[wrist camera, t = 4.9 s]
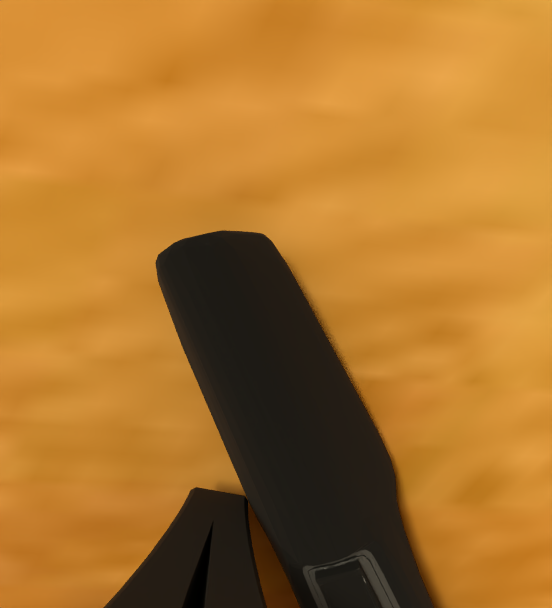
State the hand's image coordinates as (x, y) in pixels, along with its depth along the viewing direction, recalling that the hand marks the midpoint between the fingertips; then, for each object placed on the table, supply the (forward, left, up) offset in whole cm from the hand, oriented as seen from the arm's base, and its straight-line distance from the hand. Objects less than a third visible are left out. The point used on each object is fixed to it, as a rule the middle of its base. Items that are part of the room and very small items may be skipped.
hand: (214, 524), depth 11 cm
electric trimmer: (-3, 0, -2) cm, 3 cm away
